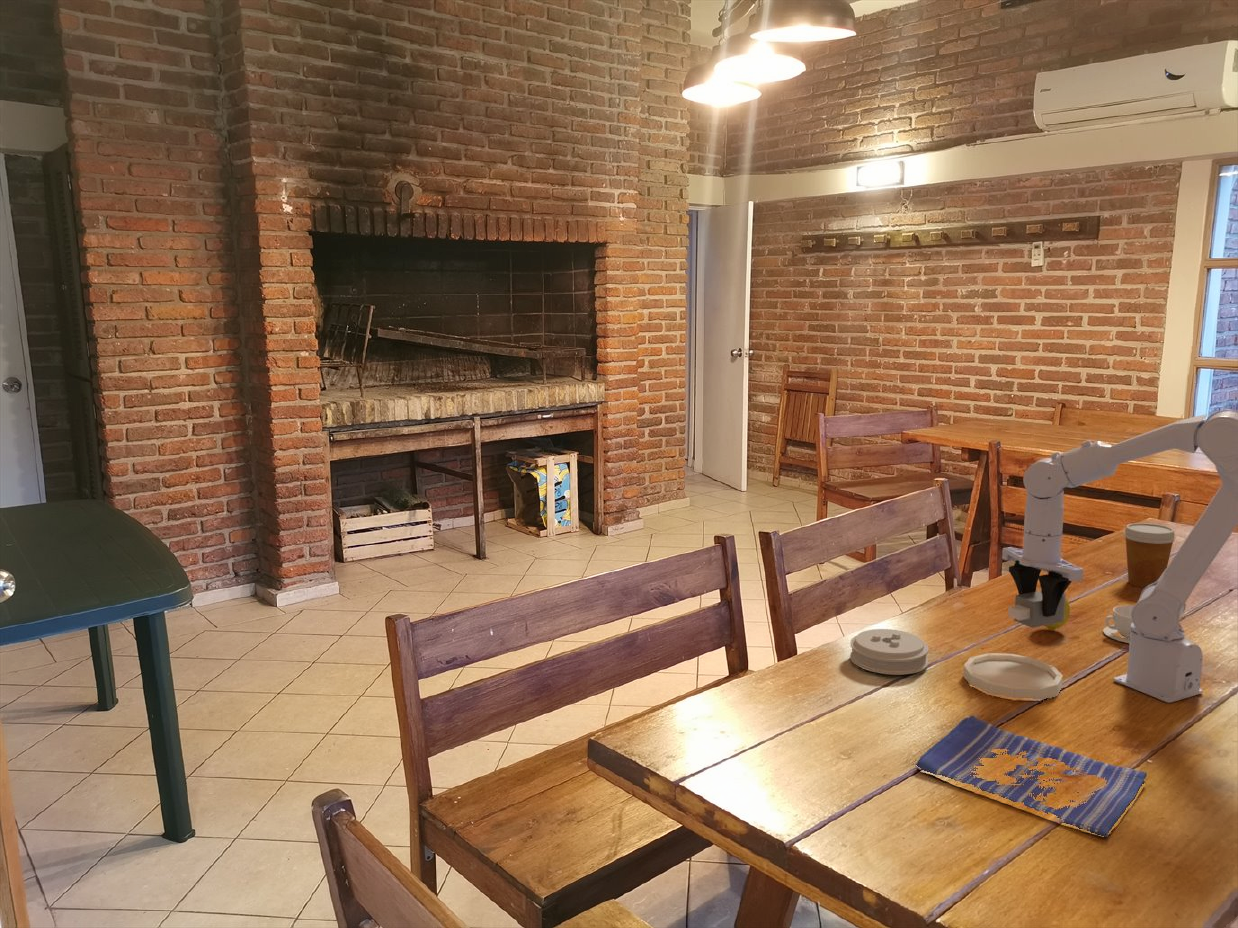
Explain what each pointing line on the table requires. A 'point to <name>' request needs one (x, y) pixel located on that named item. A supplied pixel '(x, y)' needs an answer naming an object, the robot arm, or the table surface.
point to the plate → (1013, 676)
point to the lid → (889, 652)
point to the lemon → (1066, 617)
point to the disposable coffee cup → (1147, 552)
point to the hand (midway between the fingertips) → (1038, 611)
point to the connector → (1034, 610)
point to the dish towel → (979, 736)
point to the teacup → (1120, 623)
